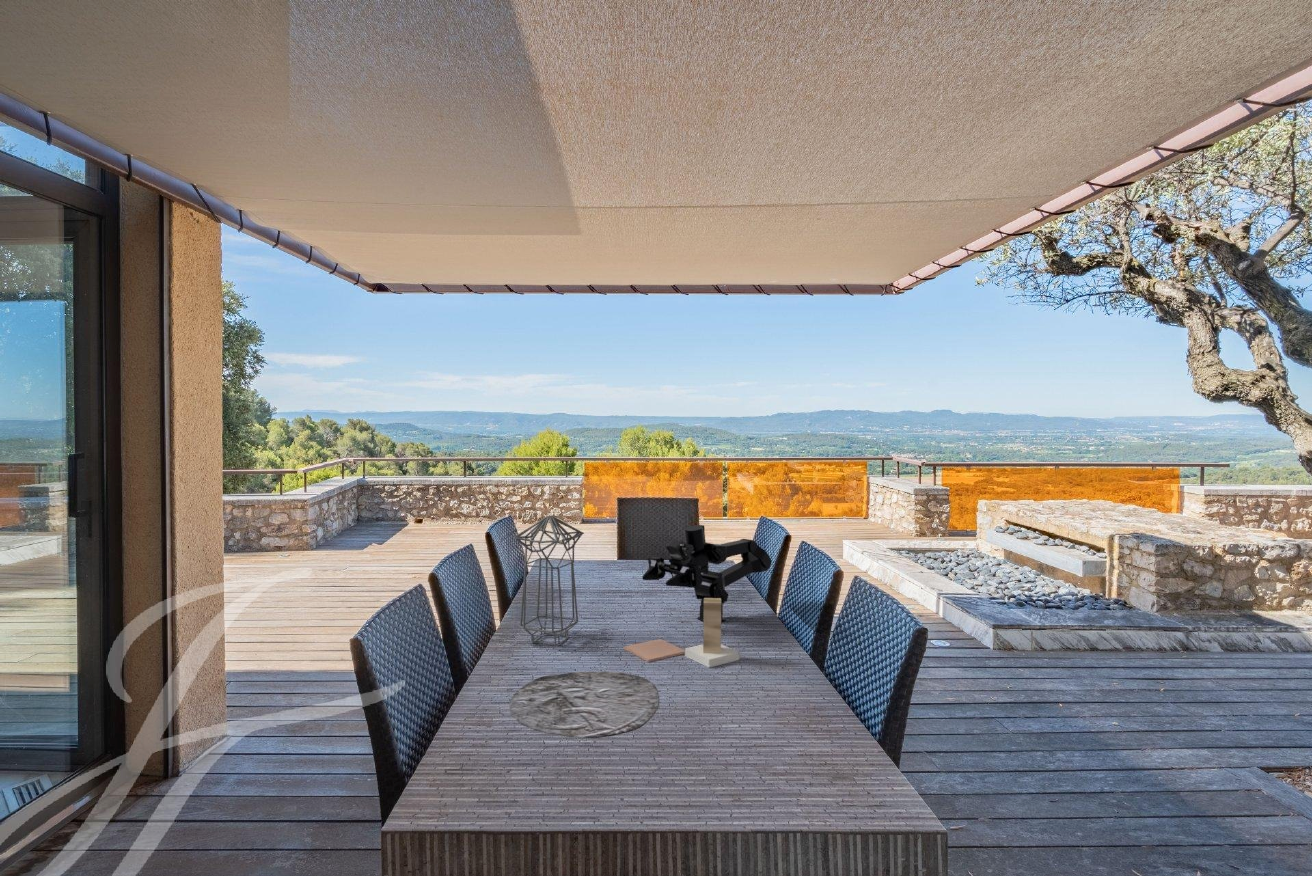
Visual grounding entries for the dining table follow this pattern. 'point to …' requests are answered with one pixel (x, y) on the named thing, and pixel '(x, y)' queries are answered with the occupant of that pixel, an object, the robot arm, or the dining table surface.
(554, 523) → the geometric lantern
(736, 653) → the white square tile
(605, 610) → the dining table surface
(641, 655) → the terracotta tile
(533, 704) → the worn metal disc
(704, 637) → the oak block
